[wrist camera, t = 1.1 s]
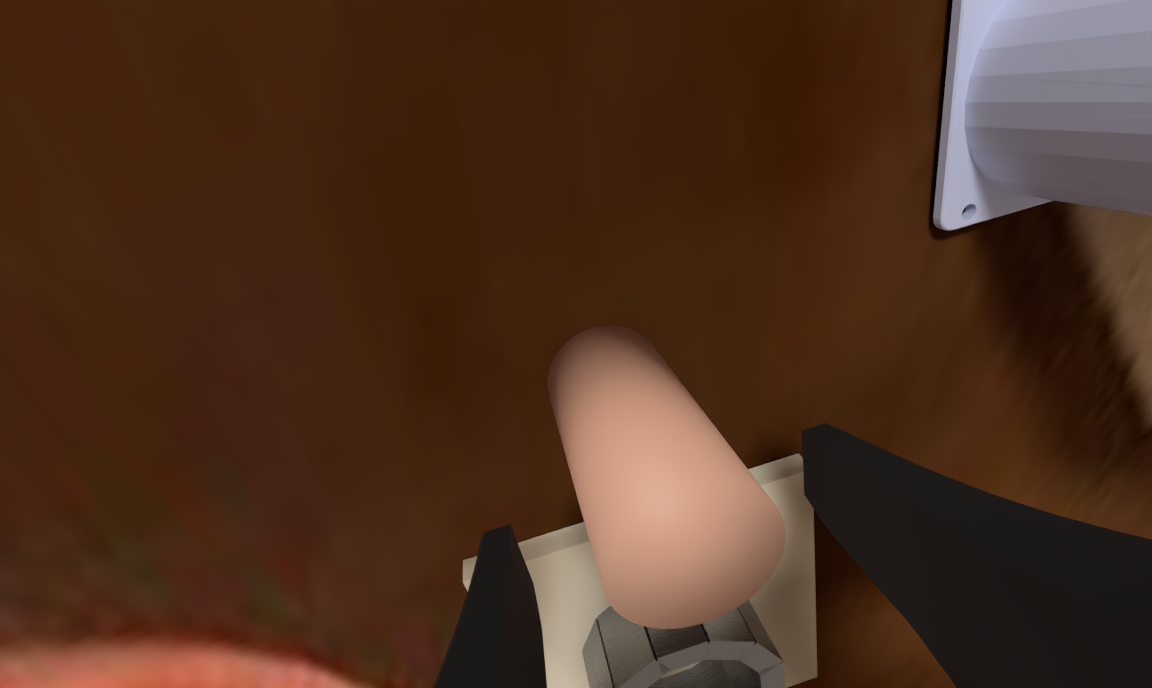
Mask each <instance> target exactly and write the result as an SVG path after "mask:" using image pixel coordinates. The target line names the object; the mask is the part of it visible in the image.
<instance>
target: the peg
mask: <svg viewBox="0 0 1152 688" xmlns="http://www.w3.org/2000/svg"><path fill="white" fill-rule="evenodd" d="M547 387H548V393H549V397H550V401H551V404H552V408H553V412H554V415H555V419H556V422H557V426H558V429H559V433H560V437H561V440H562V444H563V447H564V451H565V454H566V458H567V462H568V465H569V469H570V472H571V476H572V480H573V483H574V487H575V490H576V494H577V497H578V501H579V505H580V508H581V512H582V515H583V519H584V523H585V526H586V530H587V533H588V537H589V540H590V544H591V548H592V551H593V555H594V558H595V562H596V565H597V569H598V573H599V576H600V580H601V583H602V587H603V591H604V593H605V596H606V598H607V600H608V602H609V604H610V605H611V607H612V608H613V609H614V610H615V611H616V612H617V613H618V614H619V615H621V616H622V617H624V618H625V619H627V620H629V621H631V622H633V623H635V624H638V625H641V626H645V627H650V628H658V629H676V628H685V627H689V626H694V625H698V624H702V623H705V622H708V621H710V620H713V619H716V618H718V617H720V616H722V615H724V614H726V613H728V612H730V611H732V610H733V609H735V608H737V607H738V606H740V605H741V604H743V603H744V602H745V601H747V600H748V599H749V598H751V597H752V596H753V595H754V594H755V593H756V592H757V591H758V590H759V589H760V588H761V587H762V586H763V585H764V584H765V583H766V582H767V580H768V579H769V578H770V577H771V575H772V574H773V572H774V571H775V569H776V567H777V565H778V563H779V561H780V559H781V556H782V554H783V551H784V546H785V540H786V530H785V524H784V521H783V518H782V515H781V513H780V512H779V510H778V508H777V507H776V506H775V504H774V503H773V502H772V500H771V499H770V498H769V496H768V495H767V494H766V492H765V491H764V490H763V489H762V487H761V486H760V485H759V483H758V482H757V481H756V479H755V478H754V477H753V476H752V474H751V473H750V472H749V470H748V469H747V468H746V466H745V465H744V464H743V463H742V461H741V460H740V459H739V457H738V456H737V455H736V453H735V452H734V451H733V450H732V448H731V447H730V446H729V444H728V443H727V442H726V440H725V439H724V438H723V437H722V435H721V434H720V433H719V431H718V430H717V429H716V427H715V426H714V425H713V423H712V422H711V421H710V420H709V418H708V417H707V416H706V414H705V413H704V412H703V410H702V409H701V408H700V407H699V405H698V404H697V403H696V401H695V400H694V399H693V397H692V396H691V395H690V394H689V392H688V391H687V390H686V388H685V387H684V386H683V384H682V383H681V382H680V381H679V379H678V378H677V377H676V375H675V374H674V373H673V371H672V370H671V369H670V368H669V366H668V365H667V364H666V362H665V361H664V360H663V358H662V357H661V356H660V354H659V353H658V352H657V351H656V349H655V348H654V347H653V345H652V344H651V343H650V342H649V341H648V339H646V338H645V337H644V336H643V335H641V334H640V333H638V332H637V331H634V330H632V329H630V328H626V327H623V326H616V325H606V326H599V327H594V328H591V329H588V330H585V331H583V332H581V333H579V334H577V335H576V336H574V337H573V338H571V339H570V340H569V341H568V342H567V343H565V344H564V345H563V347H562V348H561V349H560V350H559V351H558V353H557V354H556V355H555V357H554V359H553V361H552V363H551V366H550V368H549V372H548V379H547Z"/></svg>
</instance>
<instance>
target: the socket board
mask: <svg viewBox="0 0 1152 688" xmlns="http://www.w3.org/2000/svg"><path fill="white" fill-rule="evenodd" d="M748 470H749V472H750V473H751V474H752V476H753V477H754V478H755V479H756V481H757V482H758V483H759V485H760V486H761V487H762V489H763V490H764V491H765V492H766V494H767V495H768V496H769V498H770V499H771V500H772V502H773V503H774V504H775V506H776V507H777V508H778V510H779V512H780V513H781V515H782V518H783V521H784V524H785V530H786V540H785V546H784V551H783V554H782V556H781V559H780V561H779V563H778V565H777V567H776V569H775V571H774V572H773V574H772V575H771V577H770V578H769V579H768V580H767V582H766V583H765V584H764V585H763V586H762V587H761V588H760V589H759V590H758V591H757V592H756V593H755V594H754V595H753V596H752V597H751V598H749V599H748V600H747V601H745V602H744V603H743V604H741V605H740V606H738V607H737V608H735V609H733V610H732V611H730V612H728V613H726V614H724V615H722V616H720V617H718V618H716V619H713V620H710V621H708V622H705V623H702V624H698V625H694V626H689V627H685V628H676V629H658V628H650V627H645V626H641V625H638V624H635V623H633V622H631V621H629V620H627V619H625V618H624V617H622V616H621V615H619V614H618V613H617V612H616V611H615V610H614V609H613V608H612V607H611V605H610V604H609V602H608V600H607V598H606V596H605V593H604V591H603V587H602V583H601V580H600V576H599V573H598V569H597V565H596V562H595V558H594V555H593V551H592V548H591V544H590V540H589V537H588V533H587V530H586V526H585V523H584V522H582V523H579V524H575V525H572V526H569V527H566V528H563V529H560V530H557V531H554V532H550V533H547V534H544V535H541V536H538V537H535V538H532V539H529V540H525V541H522V542H519V543H518V545H519V548H520V550H521V553H522V555H523V558H524V561H525V563H526V566H527V568H528V571H529V573H530V576H531V578H532V581H533V584H534V588H535V594H536V599H537V604H538V609H539V615H540V620H541V626H542V634H543V645H544V657H545V669H546V681H547V688H787V687H790V686H793V685H796V684H799V683H801V682H804V681H807V680H810V679H813V678H816V677H817V638H816V593H815V547H814V509H813V507H812V506H811V504H810V503H809V501H808V500H807V498H806V497H805V495H804V476H803V458H802V457H801V456H800V455H799V454H795V455H791V456H788V457H785V458H782V459H779V460H776V461H773V462H770V463H766V464H763V465H760V466H757V467H754V468H751V469H748ZM476 559H477V556H475V557H472V558H469V559H466V560H463V583H464V585H465V587H466V589H467V591H468V589H469V585H470V582H471V578H472V575H473V571H474V567H475V563H476Z"/></svg>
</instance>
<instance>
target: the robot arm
mask: <svg viewBox="0 0 1152 688" xmlns="http://www.w3.org/2000/svg"><path fill="white" fill-rule="evenodd" d="M1054 200H1055V201H1061V202H1067V203H1073V204H1080V205H1086V206H1092V207H1098V208H1104V209H1110V210H1117V211H1123V212H1129V213H1135V214H1141V215H1148V216H1152V0H953V3H952V14H951V25H950V36H949V47H948V59H947V70H946V81H945V92H944V103H943V114H942V125H941V136H940V148H939V159H938V170H937V181H936V192H935V203H934V214H933V221H934V224H935V226H936V227H937V228H939V229H943V230H947V231H950V230H955V229H959V228H962V227H966V226H969V225H972V224H976V223H979V222H983V221H986V220H990V219H993V218H996V217H1000V216H1003V215H1007V214H1010V213H1013V212H1017V211H1020V210H1024V209H1027V208H1030V207H1034V206H1037V205H1041V204H1044V203H1047V202H1051V201H1054ZM965 207H966V210H965V212H964V213H963V215H962V212H963V210H964V208H965ZM802 447H803V476H804V495H805V497H806V498H807V500H808V501H809V503H810V504H811V506H812V507H813V509H814V510H815V512H816V513H817V515H818V516H819V518H820V519H821V520H822V522H823V523H824V525H825V526H826V527H827V529H828V530H829V532H830V533H831V534H832V535H833V536H834V538H835V539H836V540H837V541H838V542H839V543H840V545H841V546H842V547H843V548H844V549H845V550H846V552H847V553H848V554H849V555H850V556H851V557H852V558H853V560H854V561H855V562H856V563H857V564H858V565H859V566H860V568H861V569H862V570H863V571H864V572H865V573H866V574H867V575H868V577H869V578H870V579H871V580H872V581H873V582H874V583H875V585H876V586H877V587H878V588H879V589H880V590H881V591H882V593H883V594H884V595H885V596H886V597H887V598H888V599H889V600H890V602H891V603H892V604H893V605H894V606H895V607H896V608H897V610H898V611H899V612H900V613H901V614H902V615H903V617H904V618H905V619H906V620H907V621H908V623H909V624H910V625H911V626H912V628H913V629H914V630H915V631H916V632H917V634H918V635H919V636H920V638H921V639H922V640H923V642H924V643H925V645H926V646H927V647H928V649H929V650H930V651H931V653H932V654H933V655H934V657H935V658H936V659H937V661H938V662H939V664H940V665H941V666H942V668H943V669H944V670H945V672H946V673H947V674H948V676H949V677H950V679H951V680H952V681H953V683H954V684H955V686H956V687H957V688H1152V540H1151V539H1147V538H1143V537H1138V536H1134V535H1130V534H1126V533H1122V532H1118V531H1114V530H1110V529H1106V528H1102V527H1098V526H1095V525H1091V524H1087V523H1084V522H1080V521H1076V520H1072V519H1069V518H1065V517H1062V516H1058V515H1055V514H1052V513H1048V512H1045V511H1042V510H1038V509H1035V508H1032V507H1029V506H1026V505H1023V504H1020V503H1017V502H1014V501H1011V500H1008V499H1005V498H1002V497H999V496H996V495H993V494H990V493H988V492H985V491H982V490H979V489H977V488H974V487H972V486H969V485H966V484H964V483H961V482H959V481H956V480H954V479H951V478H948V477H946V476H943V475H941V474H939V473H936V472H934V471H931V470H929V469H927V468H924V467H922V466H920V465H917V464H915V463H913V462H910V461H908V460H906V459H903V458H901V457H899V456H897V455H895V454H892V453H890V452H888V451H886V450H884V449H881V448H879V447H877V446H875V445H873V444H870V443H868V442H866V441H864V440H862V439H860V438H857V437H855V436H853V435H851V434H849V433H847V432H844V431H842V430H840V429H838V428H835V427H833V426H831V425H828V424H826V423H825V424H822V425H819V426H816V427H812V428H809V429H806V430H803V431H802ZM433 688H547V681H546V669H545V657H544V645H543V634H542V626H541V620H540V615H539V609H538V604H537V599H536V594H535V588H534V584H533V581H532V578H531V576H530V573H529V571H528V568H527V566H526V563H525V561H524V558H523V555H522V553H521V550H520V548H519V545H518V543H517V540H516V538H515V535H514V533H513V530H512V527H511V525H507V526H504V527H500V528H497V529H494V530H491V531H488V532H485V533H484V534H483V536H482V537H481V541H480V546H479V551H478V555H477V559H476V563H475V567H474V571H473V575H472V578H471V582H470V585H469V589H468V592H467V595H466V599H465V602H464V605H463V608H462V611H461V614H460V617H459V621H458V624H457V627H456V629H455V632H454V635H453V637H452V640H451V643H450V645H449V648H448V651H447V654H446V656H445V659H444V662H443V664H442V667H441V669H440V672H439V674H438V677H437V679H436V681H435V684H434V686H433Z"/></svg>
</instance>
